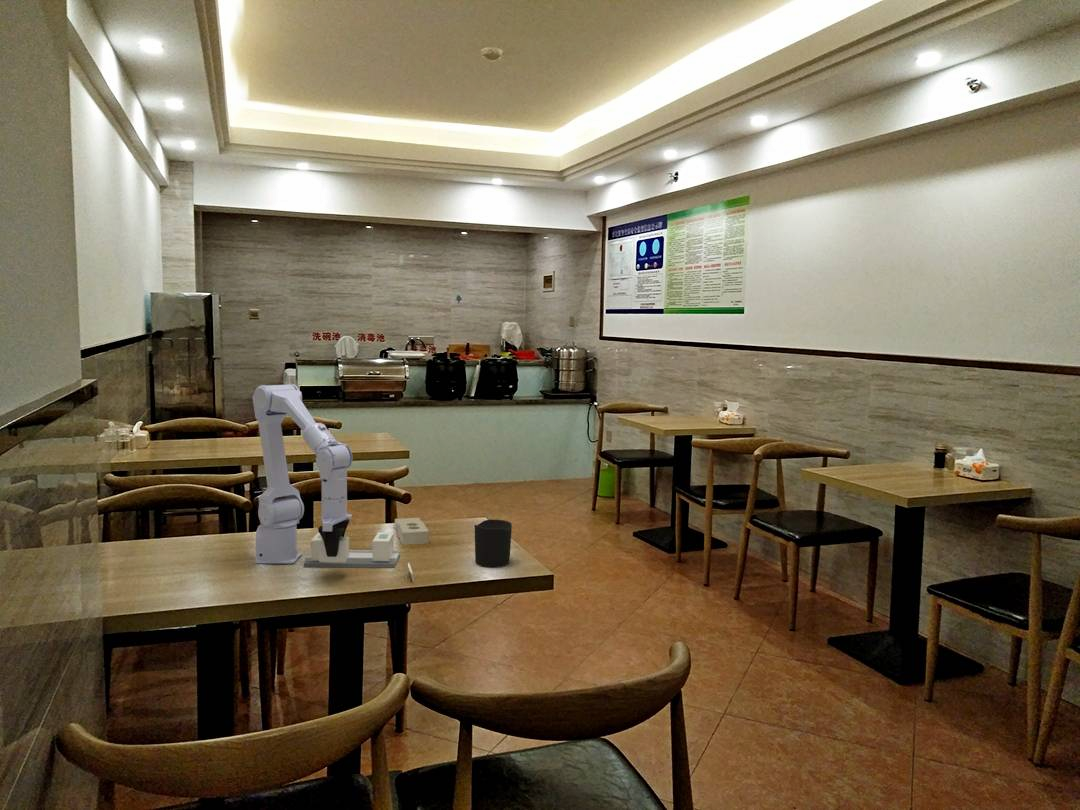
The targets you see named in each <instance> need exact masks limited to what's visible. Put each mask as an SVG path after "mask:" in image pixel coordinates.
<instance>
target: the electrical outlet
mask: <svg viewBox="0 0 1080 810" xmlns="http://www.w3.org/2000/svg"><path fill="white" fill-rule="evenodd" d="M395 529H396V530H395ZM394 530H395V532H396V531H397V532H396V533H397V536H398V538H400V539H399V541H400V543H401V545H402V546H409V545H408V544H413V545H424V544H425V543H427V544H429V543H430V541H429V539H430V535H429V534H430V533H429V532H430V531H429V529H428V528H427V526H426V524H425V523H424V521H422V520H421V518H420V517H408V518H407V517H406V518H394ZM425 545H426V544H425Z"/></svg>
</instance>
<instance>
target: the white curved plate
mask: <svg viewBox="0 0 1080 810" xmlns="http://www.w3.org/2000/svg"><path fill="white" fill-rule="evenodd" d="M407 566H408V569H409V572H410V577H411V580H412V583H414V582H415V576H414V573H413V570H412V567H411V563H410V562H407ZM403 577H404V578H403V579H405V580H408V573H407V572H404V573H403Z"/></svg>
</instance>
